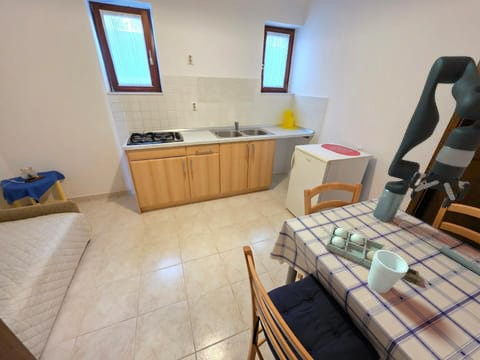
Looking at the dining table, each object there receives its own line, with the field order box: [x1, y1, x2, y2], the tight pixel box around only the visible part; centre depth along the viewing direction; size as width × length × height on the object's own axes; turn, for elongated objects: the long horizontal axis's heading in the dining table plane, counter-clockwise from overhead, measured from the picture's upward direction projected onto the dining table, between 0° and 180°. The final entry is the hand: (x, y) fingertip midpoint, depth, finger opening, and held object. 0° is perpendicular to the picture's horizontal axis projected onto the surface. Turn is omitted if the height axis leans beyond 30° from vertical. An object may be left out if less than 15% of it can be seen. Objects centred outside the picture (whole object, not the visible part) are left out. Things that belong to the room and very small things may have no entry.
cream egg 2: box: [332, 237, 344, 248], centre depth 86 cm, size 5×5×5 cm
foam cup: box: [367, 249, 410, 294], centre depth 69 cm, size 10×9×13 cm
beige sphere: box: [367, 251, 376, 262], centre depth 80 cm, size 5×5×5 cm
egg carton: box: [325, 226, 386, 269], centre depth 86 cm, size 14×21×3 cm
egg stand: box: [401, 267, 421, 285], centre depth 75 cm, size 5×5×2 cm
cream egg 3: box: [351, 233, 364, 245], centre depth 88 cm, size 5×5×5 cm
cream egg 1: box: [335, 227, 347, 239], centre depth 91 cm, size 5×5×5 cm
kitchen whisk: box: [398, 220, 480, 276], centre depth 86 cm, size 6×34×6 cm, turn 29°
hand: (427, 203), depth 71 cm, fingers open, 8 cm apart
